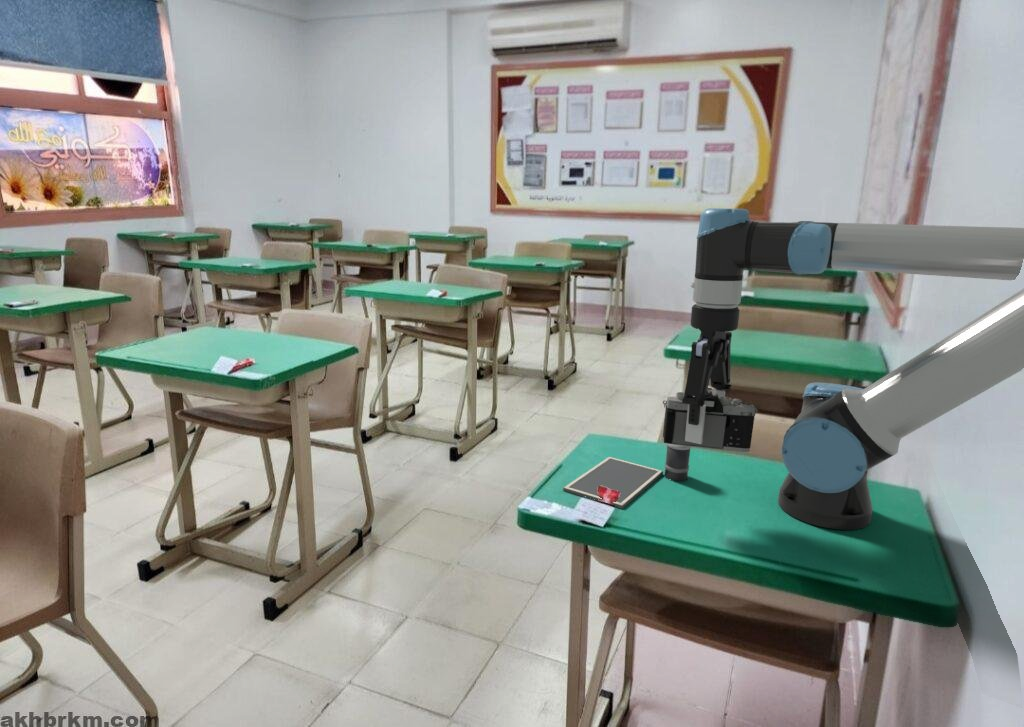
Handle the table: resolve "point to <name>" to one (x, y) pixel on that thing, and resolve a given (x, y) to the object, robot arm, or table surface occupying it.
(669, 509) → the table surface
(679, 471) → the lens
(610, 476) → the mat
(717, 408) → the camera
